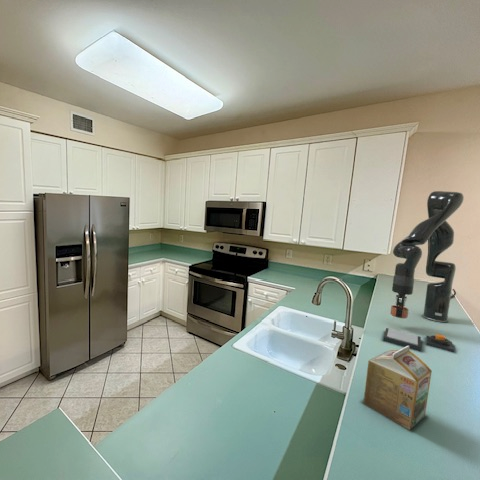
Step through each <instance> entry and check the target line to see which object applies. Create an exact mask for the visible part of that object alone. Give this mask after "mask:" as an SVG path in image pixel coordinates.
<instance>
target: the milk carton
mask: <svg viewBox="0 0 480 480" xmlns="http://www.w3.org/2000/svg"><path fill="white" fill-rule="evenodd" d="M431 378H432V369H431V368H430V367H429V366H428V364H427V363H425V362H424V361H423V360H422V359H421V358H420V357H419V356H417V355H416V354H415V353H414V352H412V351H411V349H409V346H406V347H402V348H400V349H392V350H391V349H390V350H387V351H384V352H382V353H380V354H378V355H377V356H374V357H372V358H371V359H369V360H368V362H367V370H366V378H365V379H366V380H365V387H364V396H363V404H364V405H365V406H366V407H367V406H368V407H369V408H371V409H372V410H373V411H376V412H378V413H379V414H380V415H383V416H384V417H387V418H388V419H390V420H392V421H393V422H395V423H397V424H398V425H400V426H402V427H403V428H405V429H407V430H409V431H411V429H413V427H414V428H415V425H417V424H418V423H419V422H420V421H421V420H423V419H424V418H425V416H426V411H427V405H428V398H429V392H430V385H431Z"/></svg>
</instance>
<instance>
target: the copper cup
mask: <svg viewBox="0 0 480 480" xmlns="http://www.w3.org/2000/svg"><path fill="white" fill-rule="evenodd" d="M396 306H397V305H396V304H395V305H391V306H390V315H391V316H392V317H394V318H398V319H408V318H409V317H408V316H409V310H410V309H409V308H407V307H405V306H404V307H403V311H402V317H396ZM398 307H401V308H402V306H399V305H398Z"/></svg>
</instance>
